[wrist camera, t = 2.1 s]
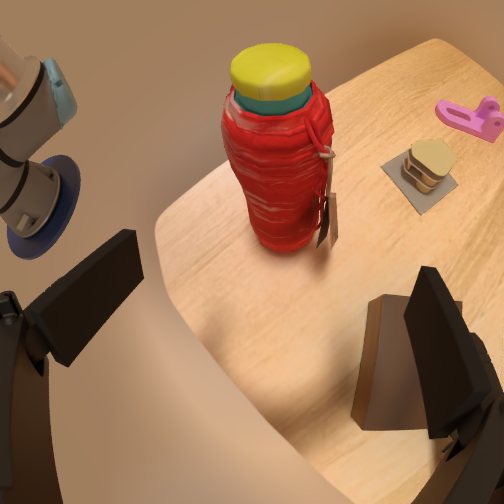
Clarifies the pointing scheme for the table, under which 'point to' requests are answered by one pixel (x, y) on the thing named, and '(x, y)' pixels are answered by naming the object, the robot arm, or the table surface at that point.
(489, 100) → the bracket
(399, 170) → the stacked layers on plate
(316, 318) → the table surface
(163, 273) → the table surface
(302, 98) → the water bottle
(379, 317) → the walnut stand
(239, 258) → the table surface
